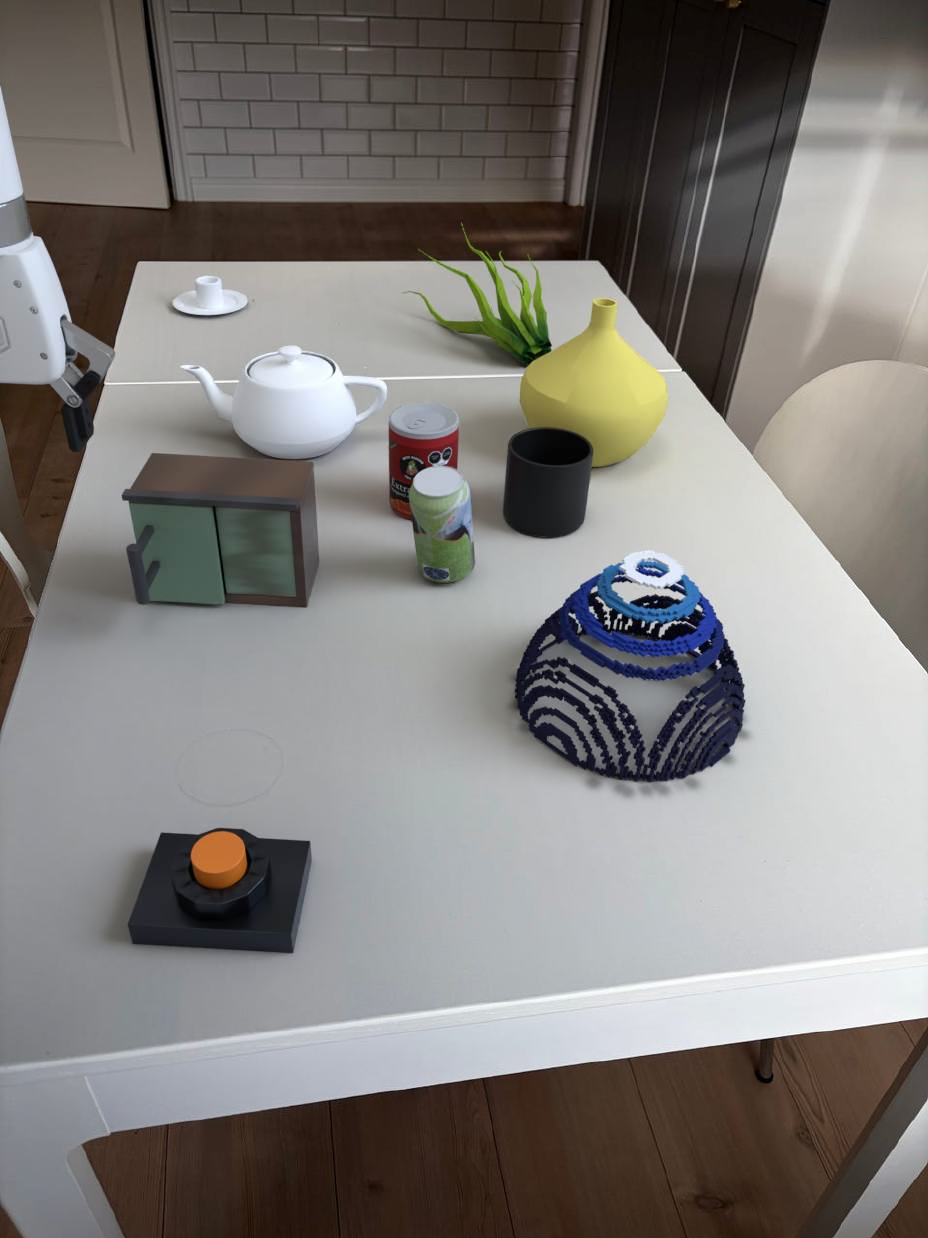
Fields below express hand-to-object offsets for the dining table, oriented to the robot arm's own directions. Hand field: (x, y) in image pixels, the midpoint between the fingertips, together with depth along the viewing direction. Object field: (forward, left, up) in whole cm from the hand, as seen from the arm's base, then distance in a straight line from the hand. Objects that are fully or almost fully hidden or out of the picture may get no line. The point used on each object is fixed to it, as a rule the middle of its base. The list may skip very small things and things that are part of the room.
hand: (29, 440), depth 82 cm
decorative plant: (+35, +79, -20) cm, 89 cm away
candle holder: (-8, +86, -20) cm, 88 cm away
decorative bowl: (+52, -5, -20) cm, 56 cm away
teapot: (+13, +41, -20) cm, 47 cm away
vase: (+51, +43, -20) cm, 70 cm away
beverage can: (+34, +13, -20) cm, 42 cm away
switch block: (+21, -29, -20) cm, 41 cm away
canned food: (+31, +27, -20) cm, 46 cm away
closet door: (+9, +2, -20) cm, 22 cm away
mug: (+45, +27, -20) cm, 56 cm away
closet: (+13, +10, -20) cm, 26 cm away
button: (+21, -29, -16) cm, 40 cm away
